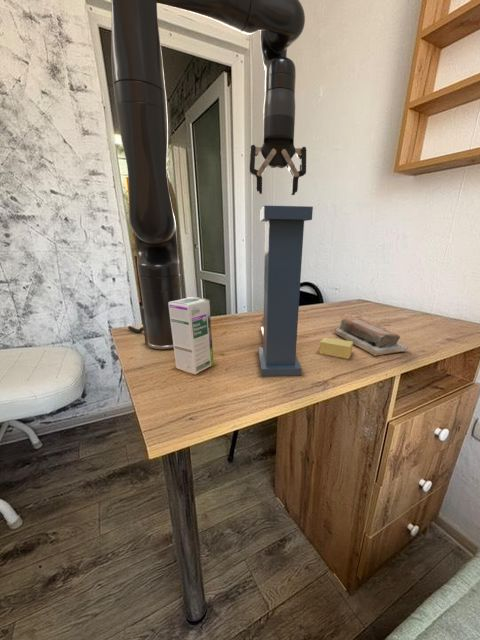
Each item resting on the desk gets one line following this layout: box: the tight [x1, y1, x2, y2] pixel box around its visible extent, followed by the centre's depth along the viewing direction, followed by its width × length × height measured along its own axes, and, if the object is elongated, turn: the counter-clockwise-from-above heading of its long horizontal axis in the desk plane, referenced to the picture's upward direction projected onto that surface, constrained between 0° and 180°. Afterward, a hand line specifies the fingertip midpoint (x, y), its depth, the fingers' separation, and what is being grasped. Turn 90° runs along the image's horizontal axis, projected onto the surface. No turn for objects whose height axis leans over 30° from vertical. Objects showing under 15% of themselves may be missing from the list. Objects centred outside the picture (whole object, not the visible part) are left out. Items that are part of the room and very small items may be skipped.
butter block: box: [318, 336, 354, 360], centre depth 70 cm, size 7×4×3 cm, turn 64°
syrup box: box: [168, 296, 215, 376], centre depth 60 cm, size 6×6×14 cm
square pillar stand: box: [257, 205, 314, 377], centre depth 59 cm, size 8×12×31 cm, turn 4°
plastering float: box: [334, 316, 409, 357], centre depth 78 cm, size 18×5×10 cm
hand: (276, 194), depth 76 cm, fingers open, 8 cm apart
